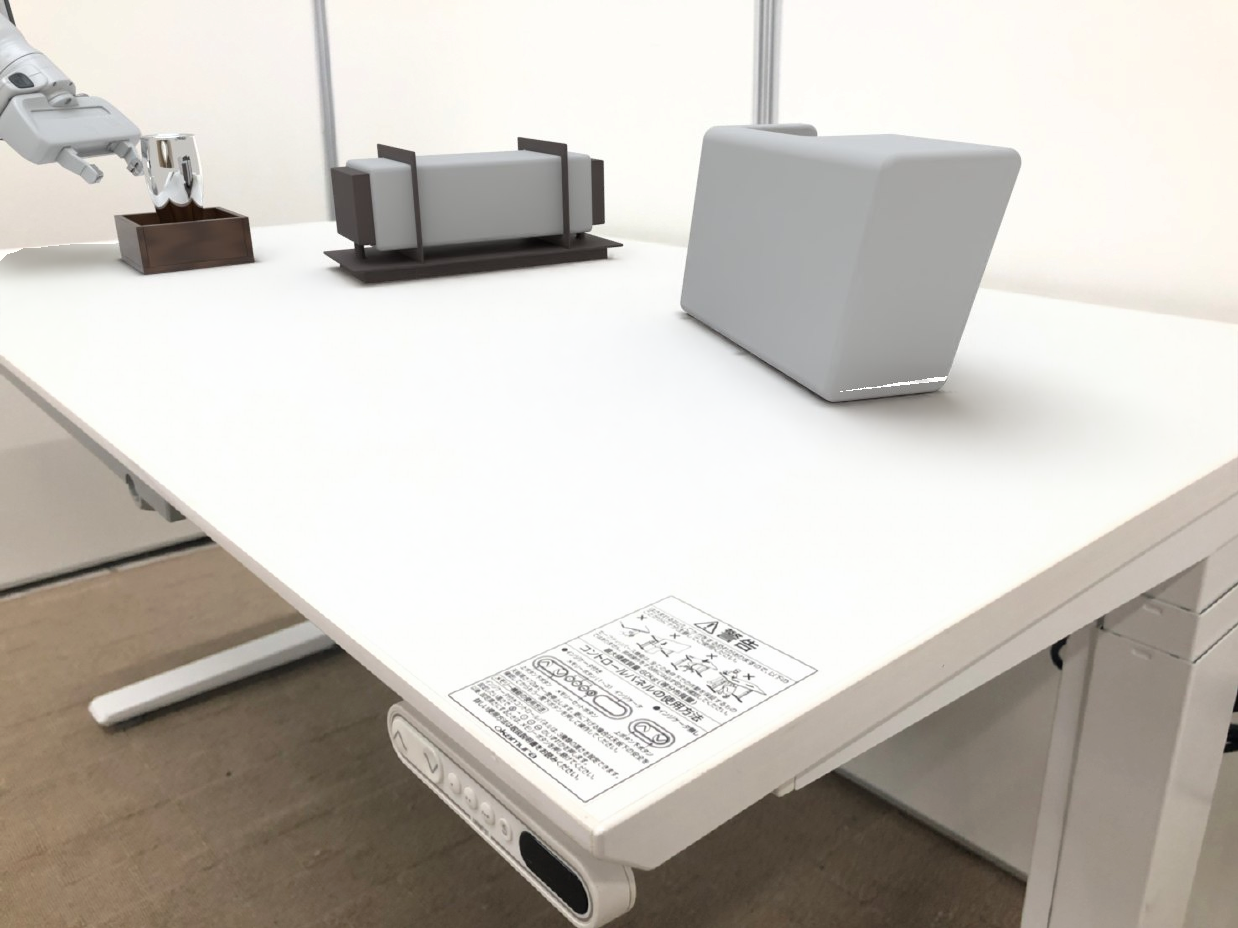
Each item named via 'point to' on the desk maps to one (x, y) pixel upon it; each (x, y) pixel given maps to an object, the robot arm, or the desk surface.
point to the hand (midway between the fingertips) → (121, 176)
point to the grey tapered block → (843, 251)
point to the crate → (184, 241)
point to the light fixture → (468, 211)
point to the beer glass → (173, 176)
